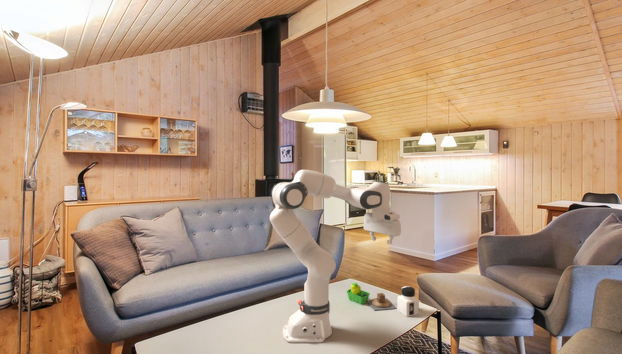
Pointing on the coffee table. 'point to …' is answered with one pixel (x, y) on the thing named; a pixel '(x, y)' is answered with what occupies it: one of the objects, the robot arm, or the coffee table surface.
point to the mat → (381, 308)
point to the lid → (381, 301)
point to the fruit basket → (357, 294)
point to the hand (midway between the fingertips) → (381, 242)
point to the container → (408, 302)
